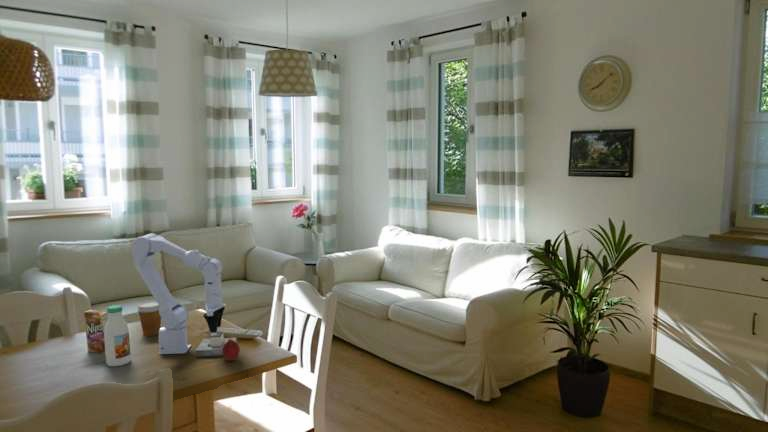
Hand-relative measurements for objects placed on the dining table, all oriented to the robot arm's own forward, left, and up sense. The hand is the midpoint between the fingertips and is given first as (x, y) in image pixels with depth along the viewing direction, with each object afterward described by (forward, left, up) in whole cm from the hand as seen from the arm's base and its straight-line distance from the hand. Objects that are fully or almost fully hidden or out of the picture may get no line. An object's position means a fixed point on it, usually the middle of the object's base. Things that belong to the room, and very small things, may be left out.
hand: (215, 329), depth 202 cm
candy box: (-42, +4, -8) cm, 43 cm away
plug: (0, 0, -8) cm, 8 cm away
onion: (+7, -10, -8) cm, 15 cm away
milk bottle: (-31, -8, -8) cm, 33 cm away
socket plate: (0, 0, -8) cm, 8 cm away
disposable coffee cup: (-30, +23, -8) cm, 39 cm away
